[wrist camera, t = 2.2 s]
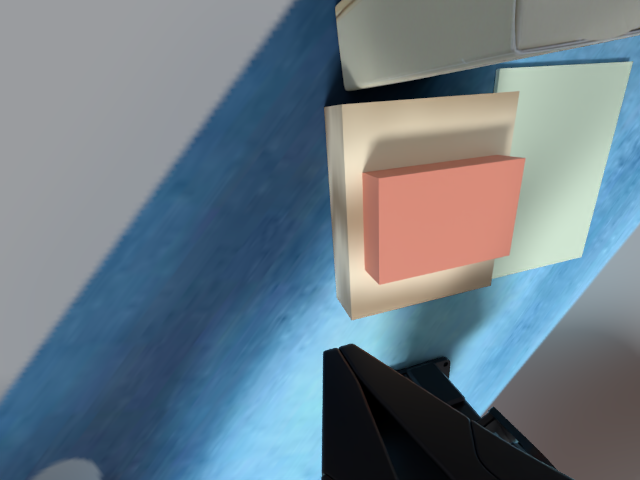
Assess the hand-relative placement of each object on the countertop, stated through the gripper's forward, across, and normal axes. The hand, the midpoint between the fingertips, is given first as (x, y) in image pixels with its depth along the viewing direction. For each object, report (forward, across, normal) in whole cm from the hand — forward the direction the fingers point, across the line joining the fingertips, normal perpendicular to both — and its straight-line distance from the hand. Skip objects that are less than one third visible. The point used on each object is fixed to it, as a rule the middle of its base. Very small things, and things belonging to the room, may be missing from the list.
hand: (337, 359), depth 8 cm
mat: (+13, -22, 0) cm, 25 cm away
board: (+13, -10, 0) cm, 16 cm away
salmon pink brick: (+9, -10, 0) cm, 13 cm away
